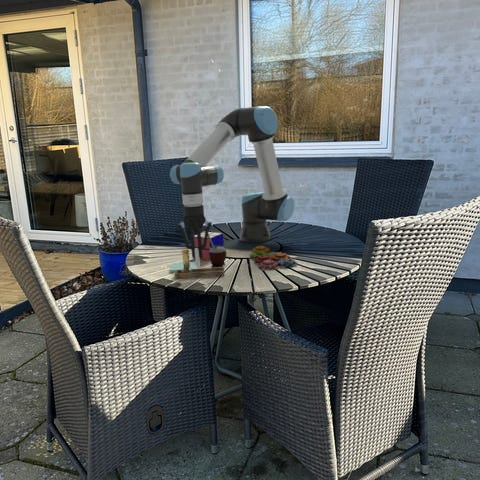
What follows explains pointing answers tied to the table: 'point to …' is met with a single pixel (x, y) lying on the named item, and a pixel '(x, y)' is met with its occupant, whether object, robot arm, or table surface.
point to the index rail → (201, 273)
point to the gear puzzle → (271, 259)
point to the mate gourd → (217, 255)
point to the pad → (180, 266)
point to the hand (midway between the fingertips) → (198, 265)
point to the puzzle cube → (209, 243)
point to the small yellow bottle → (186, 262)
